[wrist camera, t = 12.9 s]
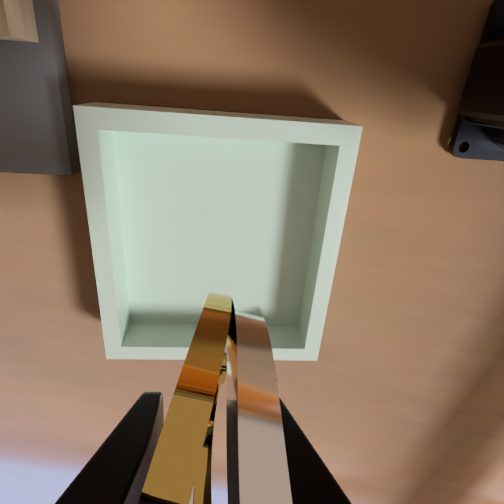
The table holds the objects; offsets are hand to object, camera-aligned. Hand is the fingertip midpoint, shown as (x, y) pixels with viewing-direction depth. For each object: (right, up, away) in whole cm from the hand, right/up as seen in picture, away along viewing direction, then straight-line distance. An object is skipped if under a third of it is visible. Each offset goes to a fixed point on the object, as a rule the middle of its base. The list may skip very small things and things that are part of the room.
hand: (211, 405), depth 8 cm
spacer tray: (-1, +4, +10) cm, 11 cm away
